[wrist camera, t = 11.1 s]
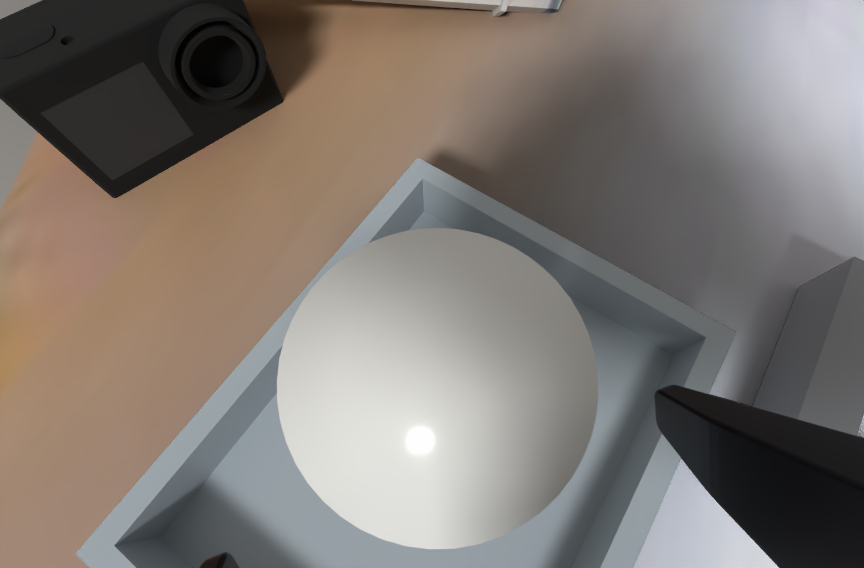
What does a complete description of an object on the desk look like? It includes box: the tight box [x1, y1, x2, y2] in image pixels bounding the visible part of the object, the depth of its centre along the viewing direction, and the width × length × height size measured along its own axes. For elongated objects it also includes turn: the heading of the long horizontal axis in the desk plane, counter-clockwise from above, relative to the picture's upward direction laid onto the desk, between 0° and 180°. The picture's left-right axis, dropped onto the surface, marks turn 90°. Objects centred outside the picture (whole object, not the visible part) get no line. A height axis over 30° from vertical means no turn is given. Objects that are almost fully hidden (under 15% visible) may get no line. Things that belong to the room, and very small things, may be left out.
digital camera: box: [0, 0, 283, 198], centre depth 22 cm, size 10×5×7 cm, turn 130°
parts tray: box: [76, 158, 736, 568], centre depth 17 cm, size 18×14×4 cm
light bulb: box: [277, 228, 598, 549], centre depth 12 cm, size 4×4×12 cm
